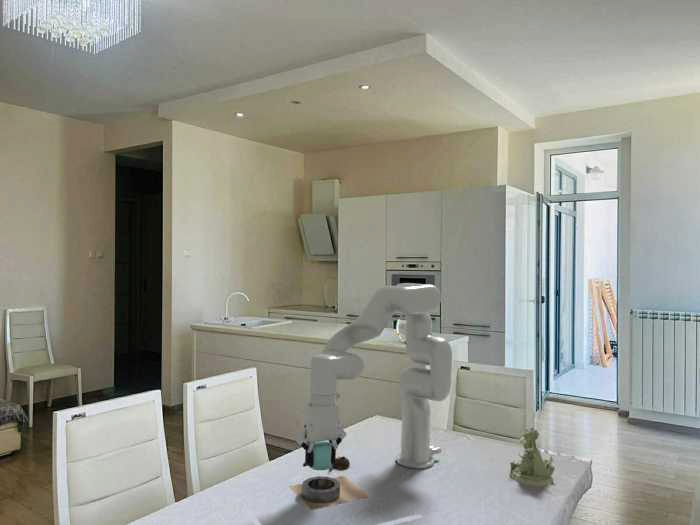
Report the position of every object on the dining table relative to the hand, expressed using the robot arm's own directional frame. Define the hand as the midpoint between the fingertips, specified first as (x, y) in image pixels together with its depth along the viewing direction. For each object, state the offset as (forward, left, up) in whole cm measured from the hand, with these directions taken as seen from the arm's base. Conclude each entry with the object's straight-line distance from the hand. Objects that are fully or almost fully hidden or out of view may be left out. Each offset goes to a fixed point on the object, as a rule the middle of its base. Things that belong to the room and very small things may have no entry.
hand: (320, 463), depth 148 cm
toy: (-11, -19, -11) cm, 25 cm away
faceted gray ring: (-1, 0, -9) cm, 9 cm away
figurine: (-66, +15, -10) cm, 69 cm away
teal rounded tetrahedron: (0, 0, -1) cm, 1 cm away
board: (-4, -1, -10) cm, 11 cm away
